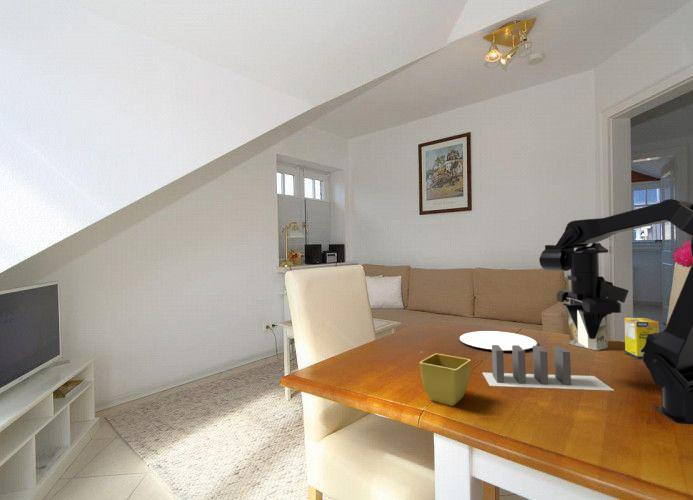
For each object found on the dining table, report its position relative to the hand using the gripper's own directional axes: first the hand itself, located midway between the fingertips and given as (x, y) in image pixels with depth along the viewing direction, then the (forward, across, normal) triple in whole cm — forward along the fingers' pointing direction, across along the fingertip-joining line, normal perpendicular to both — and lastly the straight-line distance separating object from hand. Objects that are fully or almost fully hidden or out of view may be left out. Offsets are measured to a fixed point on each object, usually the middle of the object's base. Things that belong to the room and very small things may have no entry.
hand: (586, 336), depth 85 cm
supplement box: (+12, +24, -25) cm, 37 cm away
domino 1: (+11, 0, +21) cm, 23 cm away
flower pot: (+12, -13, +35) cm, 39 cm away
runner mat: (+12, 0, +10) cm, 15 cm away
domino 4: (+11, 0, +6) cm, 13 cm away
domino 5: (+2, 0, 0) cm, 2 cm away
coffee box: (+12, +34, -15) cm, 39 cm away
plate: (+12, +36, +13) cm, 40 cm away
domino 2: (+11, 0, +16) cm, 19 cm away
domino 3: (+11, 0, +11) cm, 15 cm away
